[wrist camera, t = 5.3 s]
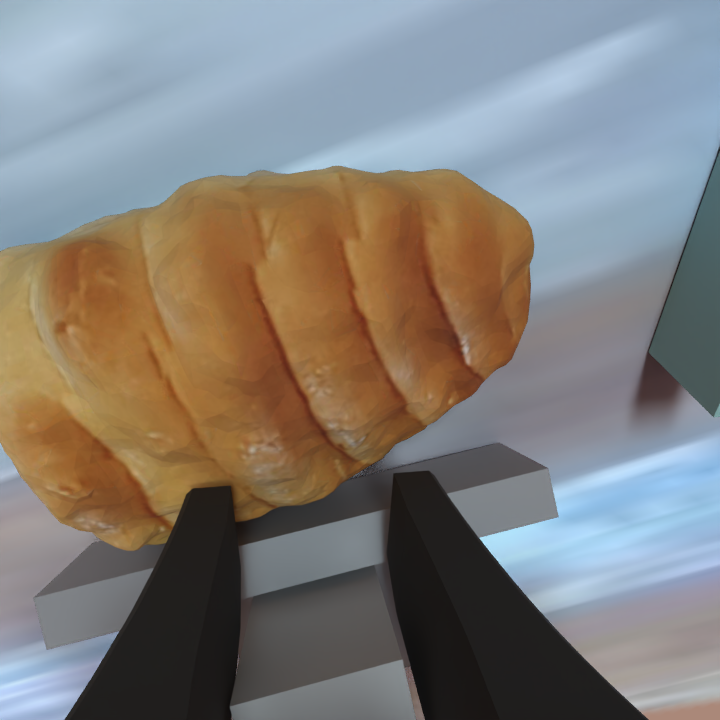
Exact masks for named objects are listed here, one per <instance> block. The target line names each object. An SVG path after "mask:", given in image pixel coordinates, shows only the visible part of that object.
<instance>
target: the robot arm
mask: <svg viewBox="0 0 720 720" xmlns="http://www.w3.org/2000/svg"><path fill="white" fill-rule="evenodd" d="M387 559H388V565H389V572H390V578H391V584H392V591H393V597H394V602H395V608H396V614H397V617H398V621H399V625H400V629H401V633H402V636H403V640H404V644H405V647H406V651H407V655H408V659H409V662H410V666H411V670H412V673H413V677H414V681H415V684H416V688H417V692H418V695H419V699H420V703H421V706H422V710H423V714H424V717H425V720H648V719H647V718H646V717H645V716H644V715H643V714H642V713H641V712H640V711H639V710H637V709H636V708H635V707H634V706H633V705H632V704H631V703H630V702H629V701H628V700H627V699H626V698H625V697H623V696H622V695H621V694H620V693H619V692H618V691H617V690H616V689H615V688H614V687H613V686H612V685H611V684H610V683H609V682H608V681H607V680H606V679H604V678H603V677H602V676H601V675H600V674H599V673H598V672H597V671H596V670H595V669H594V668H593V667H592V666H591V665H590V664H589V663H588V662H587V661H586V660H585V659H584V658H583V657H582V656H581V655H580V654H579V653H578V652H577V651H576V650H575V649H574V648H573V647H572V646H571V644H570V643H569V642H568V641H567V640H566V639H565V638H564V637H563V636H562V635H561V634H560V633H559V632H558V631H557V630H556V629H555V628H554V626H553V625H552V624H551V623H550V622H549V621H548V620H547V619H546V618H545V616H544V615H543V614H542V613H541V612H540V611H539V610H538V609H537V608H536V606H535V605H534V604H533V603H532V602H531V601H530V600H529V599H528V597H527V596H526V595H525V594H524V593H523V592H522V590H521V589H520V588H519V587H518V586H517V585H516V583H515V582H514V581H513V580H512V579H511V577H510V576H509V575H508V574H507V572H506V571H505V570H504V569H503V568H502V566H501V565H500V564H499V563H498V561H497V560H496V559H495V558H494V556H493V555H492V554H491V553H490V552H489V550H488V549H487V548H486V546H485V545H484V544H483V543H482V541H481V540H480V539H479V537H478V536H477V535H476V533H475V532H474V531H473V529H472V528H471V527H470V525H469V524H468V523H467V521H466V520H465V519H464V517H463V516H462V515H461V513H460V512H459V510H458V509H457V508H456V506H455V505H454V503H453V502H452V501H451V499H450V498H449V496H448V495H447V493H446V492H445V490H444V489H443V487H442V486H441V484H440V483H439V481H438V480H437V478H436V477H435V475H434V474H432V473H431V472H430V471H429V470H428V471H415V472H402V473H393V484H392V496H391V508H390V520H389V532H388V544H387ZM240 629H241V563H240V555H239V547H238V539H237V531H236V523H235V515H234V507H233V498H232V490H231V486H218V487H205V488H193V489H191V490H190V491H189V492H188V493H187V494H186V496H185V499H184V502H183V504H182V507H181V510H180V512H179V515H178V517H177V520H176V522H175V524H174V527H173V529H172V531H171V533H170V536H169V538H168V540H167V542H166V544H165V546H164V548H163V551H162V553H161V555H160V557H159V559H158V561H157V563H156V565H155V567H154V569H153V571H152V573H151V575H150V577H149V578H148V580H147V582H146V584H145V586H144V588H143V590H142V592H141V594H140V596H139V597H138V599H137V601H136V603H135V605H134V607H133V609H132V611H131V612H130V614H129V616H128V618H127V620H126V621H125V623H124V625H123V626H122V628H121V630H120V631H119V633H118V635H117V637H116V638H115V640H114V642H113V643H112V645H111V647H110V648H109V650H108V652H107V653H106V655H105V657H104V658H103V660H102V662H101V663H100V665H99V667H98V668H97V670H96V672H95V673H94V675H93V677H92V678H91V680H90V681H89V683H88V684H87V686H86V688H85V689H84V691H83V692H82V694H81V695H80V697H79V699H78V700H77V702H76V703H75V705H74V706H73V708H72V709H71V711H70V712H69V714H68V715H67V717H66V718H65V720H231V716H232V714H231V710H230V702H231V698H232V693H233V688H234V684H235V678H236V669H237V659H238V649H239V640H240Z"/></svg>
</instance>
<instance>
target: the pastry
mask: <svg viewBox="0 0 720 720" xmlns="http://www.w3.org/2000/svg"><path fill="white" fill-rule="evenodd" d="M533 252H534V240H533V235H532V229H531V227H530V225H529V223H528V221H527V220H526V219H525V218H524V217H523V216H522V215H521V214H520V213H519V212H518V211H517V210H516V209H515V208H513V207H512V206H510V205H509V204H507V203H505V202H504V201H502V200H501V199H499V198H497V197H496V196H494V195H492V194H491V193H489V192H487V191H486V190H484V189H483V188H481V187H480V186H478V185H477V184H476V183H474V182H473V181H471V180H470V179H468V178H467V177H465V176H464V175H462V174H461V173H459V172H457V171H454V170H449V169H434V170H427V171H419V172H409V171H402V170H394V171H388V172H384V173H371V172H365V171H360V170H356V169H351V168H347V167H343V166H332V167H329V168H326V169H323V170H312V171H305V172H299V173H293V174H279V173H274V172H270V171H265V170H263V171H256V172H253V173H250V174H248V175H247V176H224V175H218V176H212V177H205V178H201V179H198V180H195V181H192V182H188V183H186V184H184V185H182V186H180V187H179V188H178V189H177V190H176V191H175V192H174V193H173V194H172V195H171V196H170V197H169V198H168V199H167V200H166V201H165V202H163V203H162V204H160V205H158V206H155V207H150V208H142V209H133V210H131V211H128V212H126V213H122V214H117V215H110V216H105V217H102V218H100V219H98V220H96V221H93V222H90V223H87V224H84V225H82V226H80V227H79V228H77V229H75V230H73V231H71V232H69V233H67V234H65V235H63V236H62V237H60V238H57V239H55V240H52V241H50V242H43V243H35V244H25V245H20V246H14V247H9V248H7V249H5V250H2V251H0V443H1V444H2V447H3V449H4V451H5V452H6V454H7V455H8V456H9V457H10V458H11V460H12V461H13V463H14V465H15V467H16V469H17V471H18V472H19V474H20V476H21V478H22V479H23V480H24V481H25V482H26V483H27V484H28V486H29V487H30V488H31V489H32V491H33V492H34V493H35V494H36V495H37V497H38V498H39V499H40V500H41V501H42V502H43V503H44V504H45V505H46V507H47V508H48V509H49V511H50V512H51V513H52V514H53V515H54V516H55V517H56V519H57V520H58V521H59V522H60V523H62V524H65V525H68V526H71V527H73V528H75V529H77V530H80V531H87V532H92V533H93V534H94V535H95V536H96V537H98V538H99V539H101V540H103V541H104V542H106V543H108V544H110V545H112V546H114V547H116V548H119V549H123V550H126V551H135V550H139V549H140V548H141V547H143V546H144V545H160V544H164V543H166V542H167V540H168V538H169V536H170V533H171V531H172V529H173V527H174V524H175V522H176V520H177V517H178V515H179V512H180V510H181V507H182V504H183V502H184V499H185V496H186V494H187V493H188V492H189V491H190V490H191V489H193V488H205V487H218V486H231V490H232V498H233V507H234V515H235V522H239V521H247V520H251V519H255V518H259V517H261V516H263V515H265V514H267V513H268V512H269V511H270V510H273V509H276V508H278V507H283V506H295V505H304V504H308V503H311V502H314V501H317V500H320V499H323V498H325V497H326V496H328V495H329V494H330V493H332V492H333V491H335V489H336V488H337V487H338V486H339V485H340V484H341V483H343V482H345V481H346V480H348V479H349V478H351V477H352V476H354V475H355V474H357V473H358V472H360V471H361V470H363V469H365V468H367V467H369V466H370V465H372V464H374V463H376V462H377V461H379V460H381V459H382V458H383V457H384V456H385V455H386V454H387V453H388V452H389V451H390V450H391V449H392V448H393V446H394V445H395V444H397V443H399V442H401V441H404V440H406V439H408V438H410V437H411V436H413V435H415V434H416V433H418V432H420V431H422V430H424V429H425V428H426V427H427V425H429V424H431V423H433V422H435V421H437V420H438V419H439V418H440V417H441V416H442V415H444V414H445V413H446V412H447V411H448V410H449V409H451V408H452V407H453V406H454V405H456V404H458V403H460V402H462V401H463V400H465V399H467V398H468V397H470V396H472V395H473V394H474V393H475V392H476V391H477V390H478V388H479V387H480V385H481V384H482V383H483V382H484V381H485V380H486V379H487V378H488V377H489V376H490V375H491V374H492V373H493V372H494V371H495V370H496V369H498V368H500V367H502V366H504V365H506V364H507V363H508V362H509V361H510V360H511V359H512V357H513V355H514V352H515V350H516V348H517V346H518V343H519V341H520V339H521V336H522V334H523V331H524V329H525V326H526V324H527V321H528V313H529V304H530V290H531V282H530V262H531V260H532V257H533Z"/></svg>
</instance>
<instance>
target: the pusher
mask: <svg viewBox="0 0 720 720" xmlns="http://www.w3.org/2000/svg"><path fill="white" fill-rule="evenodd" d="M428 470H429V471H430V472H431V473H432V474H434V475H435V477H436V478H437V480H438V481H439V483H440V484H441V486H442V487H443V489H444V490H445V492H446V493H447V495H448V496H449V498H450V499H451V501H452V502H453V503H454V505H455V506H456V508H457V509H458V510H459V512H460V513H461V515H462V516H463V517H464V519H465V520H466V521H467V523H468V524H469V525H470V527H471V528H472V529H473V531H474V532H475V533H476V535H477V536H478V537H479V538H480V537H483V536H487V535H491V534H495V533H499V532H503V531H507V530H510V529H514V528H518V527H522V526H526V525H530V524H533V523H537V522H541V521H545V520H549V519H553V518H557V517H558V512H557V507H556V503H555V498H554V493H553V489H552V484H551V479H550V475H549V470H548V468H547V467H545V466H543V465H541V464H539V463H537V462H535V461H533V460H531V459H530V458H528V457H526V456H524V455H522V454H520V453H518V452H516V451H514V450H512V449H510V448H508V447H507V446H505V445H503V444H501V443H496V444H492V445H488V446H484V447H480V448H476V449H472V450H468V451H464V452H460V453H456V454H452V455H448V456H444V457H439V458H435V459H431V460H427V461H423V462H419V463H415V464H411V465H407V466H403V467H399V468H395V469H391V470H387V471H383V472H379V473H375V474H371V475H367V476H363V477H358V478H354V479H350V480H346V481H345V482H343V483H341V484H340V485H339V486H338V487H337V488H336V489H335V491H333V492H332V493H330V494H329V495H328V496H326V497H325V498H323V499H320V500H317V501H314V502H311V503H308V504H304V505H295V506H283V507H278V508H276V509H273V510H270V511H269V512H268V513H267V514H265V515H263V516H261V517H259V518H255V519H251V520H247V521H239V522H235V523H236V531H237V539H238V547H239V555H240V563H241V629H240V640H239V649H238V655H239V659H240V660H239V665H238V670H237V674H236V679H235V684H234V688H233V693H232V698H231V702H230V710H231V714H232V718H233V720H416V716H415V712H414V708H413V703H412V699H411V695H410V690H409V686H408V682H407V677H406V673H405V667H409V666H410V662H409V659H408V655H407V651H406V647H405V644H404V640H403V636H402V633H401V629H400V625H399V621H398V617H397V614H396V608H395V602H394V597H393V591H392V584H391V578H390V572H389V565H388V559H387V544H388V532H389V520H390V508H391V496H392V484H393V473H402V472H415V471H428ZM165 544H166V543H164V544H160V545H144V546H143V547H141V548H140V549H139V550H135V551H126V550H123V549H119V548H116V547H114V546H112V545H110V544H108V543H106V542H104V541H99V542H95V543H92V544H91V545H90V546H89V547H88V548H87V549H86V550H84V551H83V552H82V553H81V554H80V555H79V556H78V557H77V558H76V559H75V560H74V561H73V562H72V563H71V564H69V565H68V566H67V567H66V568H65V569H64V570H63V571H62V572H61V573H60V574H59V575H58V576H57V577H56V578H54V579H53V580H52V581H51V582H50V583H49V584H48V585H47V586H46V587H45V588H44V589H43V590H42V591H41V592H39V593H38V594H37V595H36V596H35V597H34V602H35V606H36V610H37V614H38V617H39V621H40V625H41V629H42V633H43V637H44V641H45V644H46V648H47V650H48V649H52V648H56V647H59V646H63V645H67V644H71V643H75V642H79V641H83V640H86V639H90V638H94V637H98V636H102V635H106V634H110V633H113V632H117V631H120V630H121V628H122V626H123V625H124V623H125V621H126V620H127V618H128V616H129V614H130V612H131V611H132V609H133V607H134V605H135V603H136V601H137V599H138V597H139V596H140V594H141V592H142V590H143V588H144V586H145V584H146V582H147V580H148V578H149V577H150V575H151V573H152V571H153V569H154V567H155V565H156V563H157V561H158V559H159V557H160V555H161V553H162V551H163V548H164V546H165Z"/></svg>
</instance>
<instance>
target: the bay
mask: <svg viewBox="0 0 720 720" xmlns="http://www.w3.org/2000/svg"><path fill="white" fill-rule="evenodd" d="M649 353H650V354H651V355H652V356H653V357H654V358H655V359H656V360H657V361H658V362H659V363H660V364H661V365H662V366H663V367H664V368H665V369H666V370H667V371H668V372H669V373H670V374H671V375H672V376H673V377H674V378H675V379H676V380H677V381H678V382H679V383H680V384H681V385H682V386H683V387H684V388H685V389H686V390H687V391H688V392H689V393H690V394H691V395H692V396H693V397H694V398H695V399H696V400H697V401H698V402H699V403H700V404H701V405H702V406H703V407H704V408H705V409H706V410H707V411H708V412H709V413H710V414H711V415H712V416H713V417H720V151H719V154H718V157H717V160H716V163H715V166H714V168H713V171H712V174H711V177H710V180H709V182H708V185H707V188H706V191H705V194H704V197H703V199H702V202H701V205H700V208H699V211H698V214H697V216H696V219H695V222H694V225H693V228H692V231H691V233H690V236H689V239H688V242H687V245H686V248H685V250H684V253H683V256H682V259H681V262H680V265H679V267H678V270H677V273H676V276H675V279H674V282H673V284H672V287H671V290H670V293H669V296H668V299H667V301H666V304H665V307H664V310H663V313H662V316H661V318H660V321H659V324H658V327H657V330H656V333H655V335H654V338H653V341H652V344H651V347H650V350H649Z"/></svg>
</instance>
